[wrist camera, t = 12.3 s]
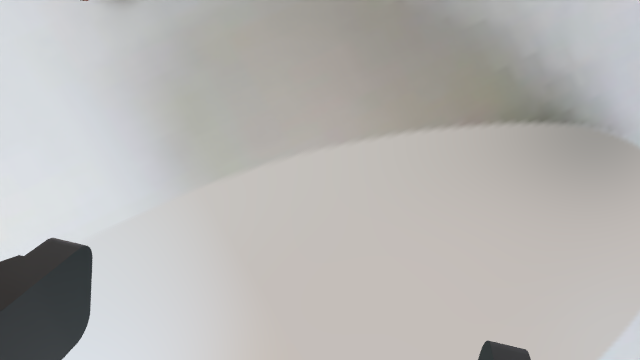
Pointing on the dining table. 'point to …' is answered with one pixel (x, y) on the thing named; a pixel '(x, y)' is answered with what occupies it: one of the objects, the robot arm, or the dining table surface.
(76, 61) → the dining table surface
